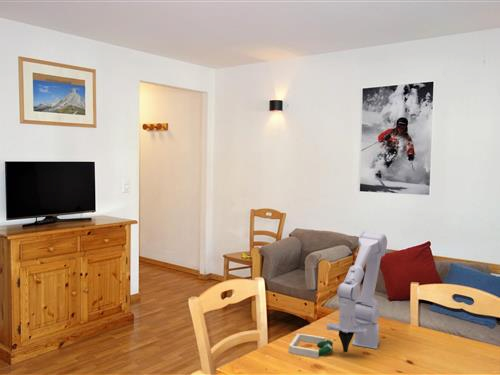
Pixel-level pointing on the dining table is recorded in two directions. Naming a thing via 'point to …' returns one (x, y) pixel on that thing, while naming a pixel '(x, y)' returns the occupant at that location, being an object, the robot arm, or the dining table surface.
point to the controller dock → (305, 351)
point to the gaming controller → (325, 347)
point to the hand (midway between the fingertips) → (345, 351)
